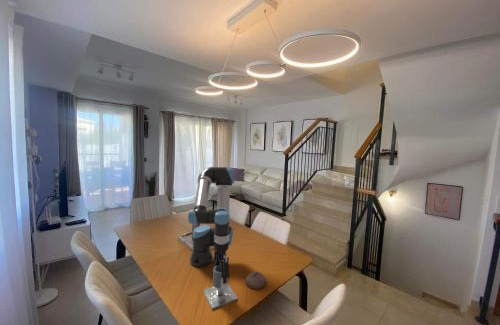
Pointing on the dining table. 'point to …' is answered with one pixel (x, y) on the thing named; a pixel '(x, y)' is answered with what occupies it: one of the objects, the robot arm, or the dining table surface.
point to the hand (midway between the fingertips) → (220, 283)
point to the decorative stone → (255, 280)
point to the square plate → (219, 296)
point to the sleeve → (217, 276)
